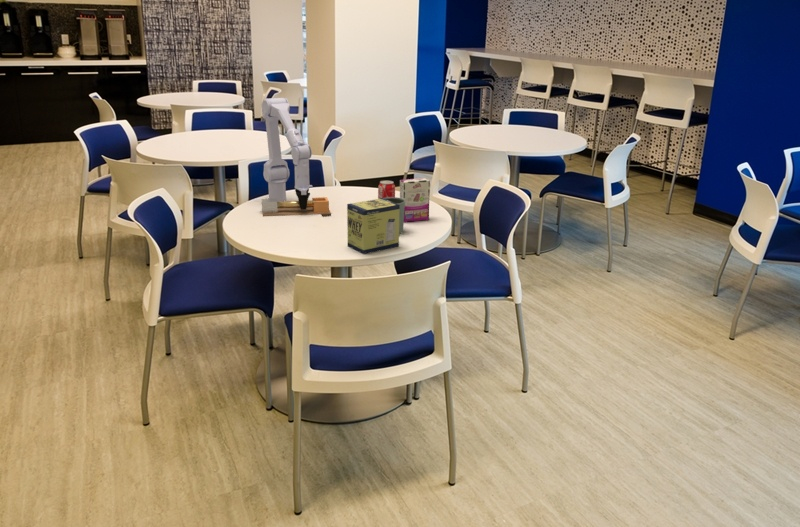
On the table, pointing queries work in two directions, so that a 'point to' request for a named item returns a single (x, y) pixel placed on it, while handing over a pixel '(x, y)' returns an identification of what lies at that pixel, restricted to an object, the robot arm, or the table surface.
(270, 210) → the outer sleeve
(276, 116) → the robot arm
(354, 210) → the protein box
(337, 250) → the table surface
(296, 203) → the inner tube
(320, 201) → the socket block
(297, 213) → the base board
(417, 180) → the candy bar box
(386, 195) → the soda can
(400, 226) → the grey cup
